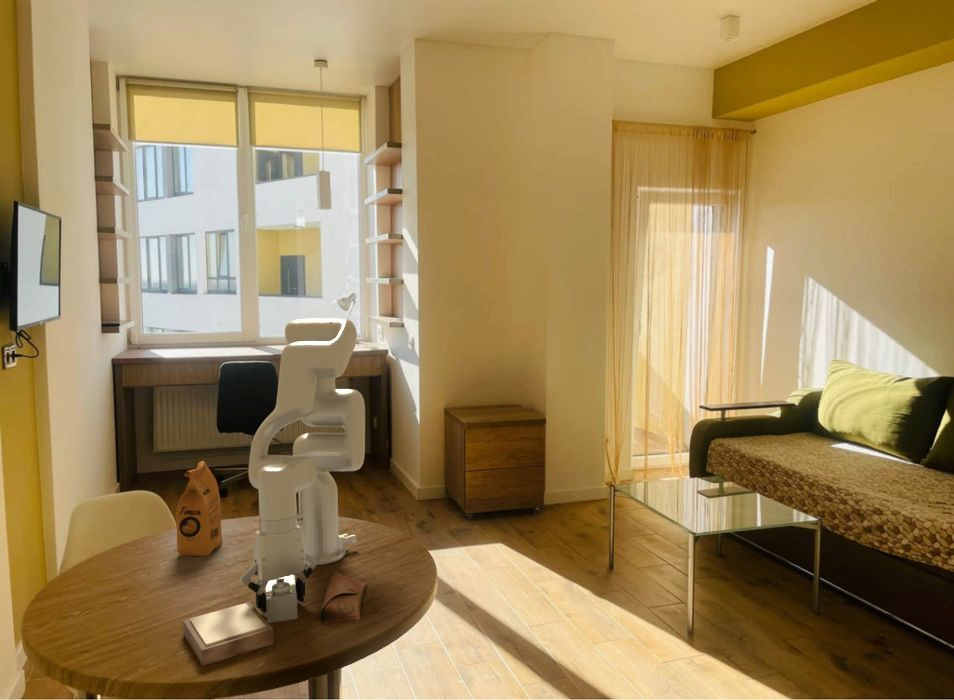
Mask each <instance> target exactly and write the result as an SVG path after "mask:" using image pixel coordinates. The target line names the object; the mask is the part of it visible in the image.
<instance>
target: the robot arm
mask: <svg viewBox="0 0 954 700" xmlns="http://www.w3.org/2000/svg"><path fill="white" fill-rule="evenodd" d="M357 333H358V332H357V328H356V325H355V324H354V323H353V322H352V320H350V319H346V318H301V319H294V320H291V321H289V322H288V323H287V324H286V325H285V328H284V335H285V341H286V344H287V345H285V347H284V348H283V350H282V351H281V356H280V364H279V375H278V384H277V387H278V388H277V394H276V395H277V396H276V403H275V408H274V410H273V411H272V412H271V413H270V414H269V415H268V416H267V417H266V418H265V419H264V420H263V422H261V424H260V426H259V427H258V429H257V430H256V432H255V434H254V436H253V438H252V441H251V445H250V451H249V452H250V453H249V459H248V461H249V462H248V481H249V483H250V484H251V486H252V487H253V488H254V489H257V490H258V512H259V513H258V515H259V517H258V518H259V530H257V531H255V536H254V540H253V541H254V543H253V552H252V564H251V566H250V567H248V569H246V570H245V572H243V574H241V576H240V577H239V578H240V581H241V582H242V583H244V585H245V586H246V587H248V588H249V589H250V590H251V591H253V592H254V593H255V605H256V608H257V609H259V610H260V612H261V613H262V614H265V613H267V608H266V592H265V591H266V586H267V584H268V582H269V581H273V580H277V579H281V578H285V577H288V576H292V575H294V577H295V586H296V593H297V601H298V602H300V603H304V601H305V599H304V598H305V596H306V583H307V582H308V578H309V577H310V576H311V575H312V573H313V570H314V569H315V568H316V567H317V566H321V565H328V564H331V563H335V562H338V561H339V560H341V559H343V558H344V557H345V555H346V548H345V546H346V545H347V544H353V543H356V542H357V541H358V538H357V535H356V534H350V535H348V534H347V533H344V534H341V535H340V533H339V507H338V506H339V505H338V502H339V501H338V486H337V482H336V480H335V479H334V478H333V476H332V475H331V473H330V472H355V471H358V470H359V469H361V467H362V466H363V464H364V461H365V454H366V452H365V451H366V448H365V447H366V445H365V444H366V407H365V406H366V405H365V400H364V397H363V394H362V393H361V392H360V391H358V390H357V389H352V388H336V378H339V377H341V376H342V375H343V374H344V373H345V371H346V370H347V367H348V364H349V362H350V359H351V357H352V354H353V352H354V350H355V347H356V343H357V340H358V339H357V338H358V337H357V336H358V334H357ZM297 421H302V424H304V425H306V426H309V427H314V428H315V427H316V428H343V429H344V432H330V431H329V432H328V431H327V432H326V431H325V432H324V431H323V432H321V431H320V432H317V431H316V432H315V431H314V432H307V433H303V434H301V435H299V436H298V437H297V438H296V439H295V441H294V443H293V446H292V453H293V454H292V455H288V454H287V455H285V454H284V455H283V454H282V455H280V454H279V455H277V454H273V455H272V454H271V455H270V454H268V451H269V446H270V444H271V441H272V440H273V438H274V437H275V435H277V434H278V433H279V431H281V430H282V429H284V428H285V427H287V426H289V425H290V424H293V423H295V422H297ZM297 494H298V511H297ZM252 576H255V577H257V578H256V581H255V582H254V581H252V580H251V578H252Z"/></svg>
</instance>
